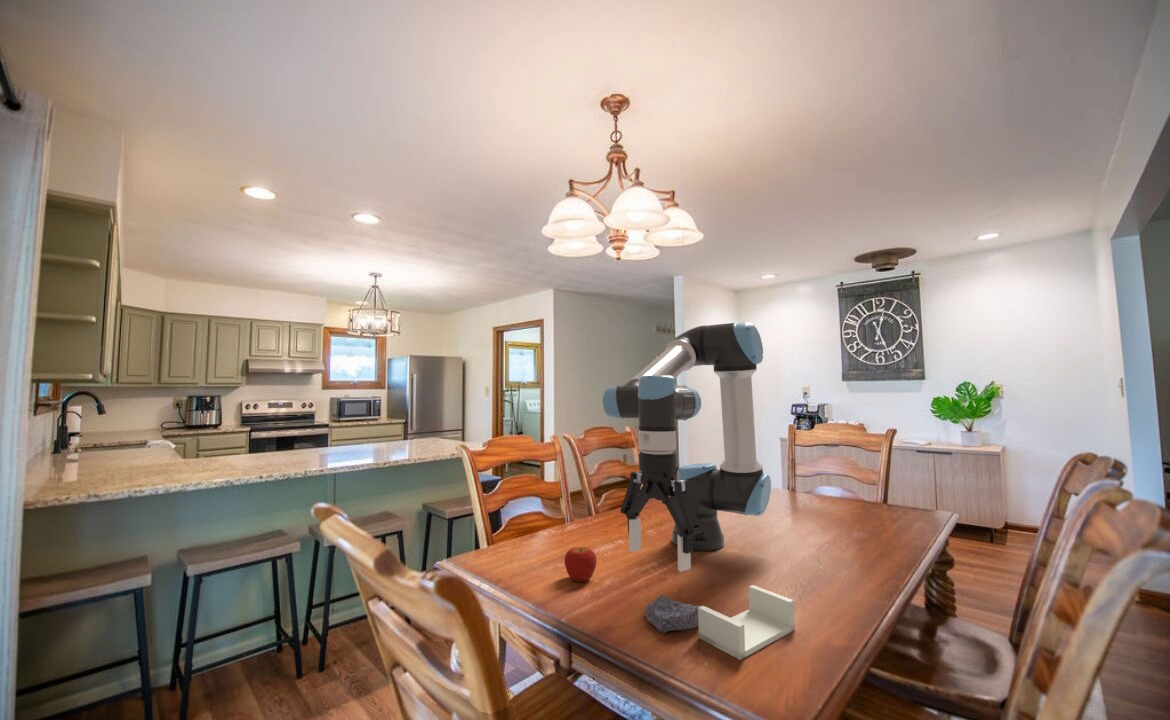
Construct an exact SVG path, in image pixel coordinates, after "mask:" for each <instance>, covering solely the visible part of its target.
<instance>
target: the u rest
mask: <svg viewBox="0 0 1170 720" xmlns="http://www.w3.org/2000/svg"><path fill="white" fill-rule="evenodd" d="M748 601H749V603H748V604H749V606H748V607H749V608H748V609H747V610H744V611H742V612H740V613H738V614H736V615H733V616H731V617H729V616H727V615H726V614H723V613H720V612H718V611H716V610H714V609H711V608H709V607H707V606H705V605H700V606H701V607H699V608H698V622H699V626H698V639H700V640H702V641H703V642H705V643H707V644H709V645H711V646H713V647H715V648H717V649H719V650H720V651H722V652H723V653H726V654H728V655H730V656H732V657H734V658H736V659H737V660H739V661H742V660H743V659H745V658H747V657H749V656H751V655H752V654H753V653H756V652H758V651H759V650H761V649H762V648H765V647H767V646H768V645H770V644H771V643H772V644H773V642H776V641H777V640H779V639H781V638H783V637H784V636H786V635H788V634H790V633H792V632H793V631H795V630H796V628H795V626H796V625H795V623H796V621H795V600H794V599H791V598H789V597H786V596H783V595H782V594H778V593H775V592H773V591H770V590H767V589H765V588H764V587H763V588H762V587H760V586H757V585H754V584H752V585H749V586H748Z"/></svg>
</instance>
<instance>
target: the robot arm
mask: <svg viewBox="0 0 1170 720" xmlns="http://www.w3.org/2000/svg"><path fill="white" fill-rule="evenodd" d="M763 360H764V346H763V341H762V338H761V335H760V332H759V330H758V328H757V327H756V326H755V325H754V324H753V323H751V322H747V321H746V322H736V321H735V322H730V323H719V324H709V325H699V326H696V327H693V328H691V329H690V328H689V329H688V330H686V331H685V332H683V333H681V334H679V335H678V336H676V337H674V338H673V339H672V340H671V341H669V342H668V343H667V344H666V346H665V347H664V351H663V352H662V353H660V354H659V355H658V356H657V357H656V358H654V360H652V361H651V362H649V364H647V365H646V366H645V367H644V368H643V369H642V370H640V371H639V372H638V373H637V374H635V376H633V377H632V378H631V379H630V380H628V382H626V383H625V384H624V385H621V386H620V385H615V386H609V387H608V388H606V390H605V391H604V393H603V396H602V406H603V410H604V412H605V414H606V415H607V416H609V417H610V418H616V419H622V420H623V419H638V449H639V450H640V452H639V453H638V470H639V471H638V470H637V471H634V472H633V471H632V472H630V477H629V484H628V486H627V489H626V492H625V495H624V498H623V501H622V504H621V507H620V509H619V510H620V513H621V514H622V515H623V514H624V515H625V516H626V519H627V532H628V537H629V538H628V539H629V542H628V544H629V545H628V546H629V547H628V549H629V551H628V552H630V553H634V552H637V551H641V550H642V518H641V515H640V514H641V512H642V510H643V509H644V508H645V506H646V505H647V503H648V502H649V500H650V499H655V500H657V501H661V502H662V504H663V505H665V506H666V508H667V511H668V513H669V514H670V516H671V518H672V519H673V521H674V523H675V524H674V528H673V531H672V532H671V533H672V534H671V537H672V539H671V542H672V543H673V544H674V545H675V546H677V571H678V572H680V573H682V572H684V571H688V570H691V568H692V565H691V564H692V562H691V561H692V559H691V557H692V556H691V553H693V551H700V552H701V551H702V552H703V551H704V552H705V551H716V550H719V549H722V548H723V547H724V546H725V537H724V534H723V532H722V528H721V525H720V521H719V519H718V511H720V512H725V513H733V514H739V515H744V516H755V517H758V516H759V517H760V516H762V515H763V514H764V513H765V512H766V511H767V508H768V505H769V501H770V496H771V492H772V491H771V489H772V480H771V477H770V475H769V474H767V473H764V471H763V467H764V466H763V465H762V464H761V463H760V462H759V461H758V460H757V449H756V433H755V429H756V428H755V416H754V397H753V381H752V379H753V378H752V377H753V375H754V373H756V372H757V370H758V369H757V368H758V367H757V365H758V364H761V363H762V362H763ZM697 366H698V367H699V366H713V372H714V374H716V375H717V377H718V378H719V387H720V403H721V416H722V420H721V421H722V433H723V449H724V450H723V451H724V452H723V453H724V454H723V455H724V461H722V462H721V464H720V465H719V469H717V468H718V467H717V465H716V463H711V462H709V463H708V462H707V463H694V464H693V463H692V464H687V465H682V466H680V467H679V468H678V469H677V454H676V453H675V451H676V450H677V431H676V430H677V421H688V420H689V419H692V418H695V417H696V416H697V415H698V414H699V412H700V410H701V408H702V398H701V396H700V394H699V392H698V391H697V390H696V389H694V388H693V387H690V386H687V385H685V384H684V385H677V384H676V379H677V378H678V376H679V375H681V373H683V372H686V371H689V370H691V369H692V368H693V367H697ZM675 473H676V479H675Z"/></svg>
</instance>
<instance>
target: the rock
mask: <svg viewBox="0 0 1170 720" xmlns="http://www.w3.org/2000/svg"><path fill="white" fill-rule="evenodd" d="M701 606H702V605H692V604H690V603H683V602H679V601H677V600H675V599H671V598H669V597H668V596H666V595H663V594H661V595H658V596H657V597H656V598H655V599H654V600H653V601H652V602H651V601H650V603H648V605H646V607H645V610H644V613H645V618H646V620H647V621H648V622H649V623H650V624H652V626H654V628H656V629H657V630H658V632H659V633H661V634H666V633H668V632H672V631H686V630H689V629H693V628H699V622H698V608H699V607H701Z"/></svg>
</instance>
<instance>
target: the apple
mask: <svg viewBox="0 0 1170 720" xmlns="http://www.w3.org/2000/svg"><path fill="white" fill-rule="evenodd" d="M597 563H598V562H597V555H596V554H595V551H593V550H592V549H591V548H589V547H581V546H576V547H574V546H573V547H572V548H569V550H568V551H567V552H566V554H565V555H564V566H565V571H566V573H567V574H568V576H569V578H571V580H572V581H575V582H579V583H583V582H586V581H588V580H589V579H591V578H592V576H593V575H594V573H595V570H596V567H597Z"/></svg>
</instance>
